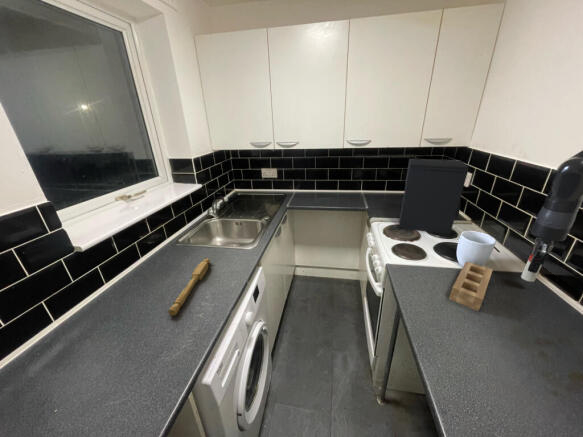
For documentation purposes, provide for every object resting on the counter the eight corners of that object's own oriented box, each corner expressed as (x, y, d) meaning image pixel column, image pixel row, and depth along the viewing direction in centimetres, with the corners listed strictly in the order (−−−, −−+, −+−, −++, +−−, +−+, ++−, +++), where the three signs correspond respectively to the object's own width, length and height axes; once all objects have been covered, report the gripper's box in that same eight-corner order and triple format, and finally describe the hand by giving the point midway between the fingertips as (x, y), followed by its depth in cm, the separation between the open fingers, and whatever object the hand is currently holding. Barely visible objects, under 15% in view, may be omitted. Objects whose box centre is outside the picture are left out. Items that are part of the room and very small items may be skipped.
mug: (464, 251, 104) (473, 225, 98) (494, 263, 95) (505, 235, 90) (447, 262, 96) (455, 235, 91) (477, 276, 88) (488, 247, 83)
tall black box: (452, 221, 132) (470, 159, 118) (459, 236, 116) (480, 167, 102) (399, 214, 143) (409, 157, 129) (399, 228, 127) (410, 164, 112)
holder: (488, 280, 86) (492, 269, 84) (478, 311, 73) (483, 299, 71) (462, 271, 91) (466, 261, 89) (448, 298, 78) (452, 287, 76)
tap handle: (166, 309, 75) (203, 257, 102) (168, 316, 76) (205, 262, 103) (175, 309, 74) (210, 257, 102) (177, 316, 76) (211, 262, 103)
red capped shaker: (534, 278, 79) (545, 256, 75) (534, 283, 77) (545, 260, 73) (521, 274, 81) (530, 252, 78) (520, 278, 79) (530, 256, 75)
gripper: (573, 234, 63) (548, 284, 70) (570, 218, 72) (548, 263, 79) (535, 227, 68) (515, 274, 75) (536, 212, 77) (518, 256, 84)
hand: (532, 268), depth 77 cm, fingers closed on red capped shaker, 3 cm apart
